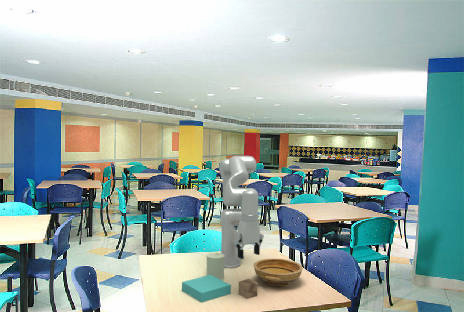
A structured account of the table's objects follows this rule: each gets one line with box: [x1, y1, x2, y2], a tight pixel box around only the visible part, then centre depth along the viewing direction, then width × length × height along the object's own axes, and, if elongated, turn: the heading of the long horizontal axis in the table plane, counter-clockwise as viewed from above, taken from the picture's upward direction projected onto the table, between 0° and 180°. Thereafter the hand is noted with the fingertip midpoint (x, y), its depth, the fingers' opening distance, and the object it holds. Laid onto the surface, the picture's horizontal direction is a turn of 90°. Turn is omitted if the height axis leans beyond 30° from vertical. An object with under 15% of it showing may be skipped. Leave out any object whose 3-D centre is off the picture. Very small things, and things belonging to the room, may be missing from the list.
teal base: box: [181, 275, 232, 303], centre depth 166 cm, size 16×16×4 cm
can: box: [205, 252, 225, 281], centre depth 184 cm, size 9×9×12 cm
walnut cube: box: [237, 278, 259, 300], centre depth 163 cm, size 6×6×6 cm
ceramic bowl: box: [253, 258, 303, 287], centre depth 180 cm, size 30×24×8 cm
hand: (248, 256), depth 162 cm, fingers open, 9 cm apart
